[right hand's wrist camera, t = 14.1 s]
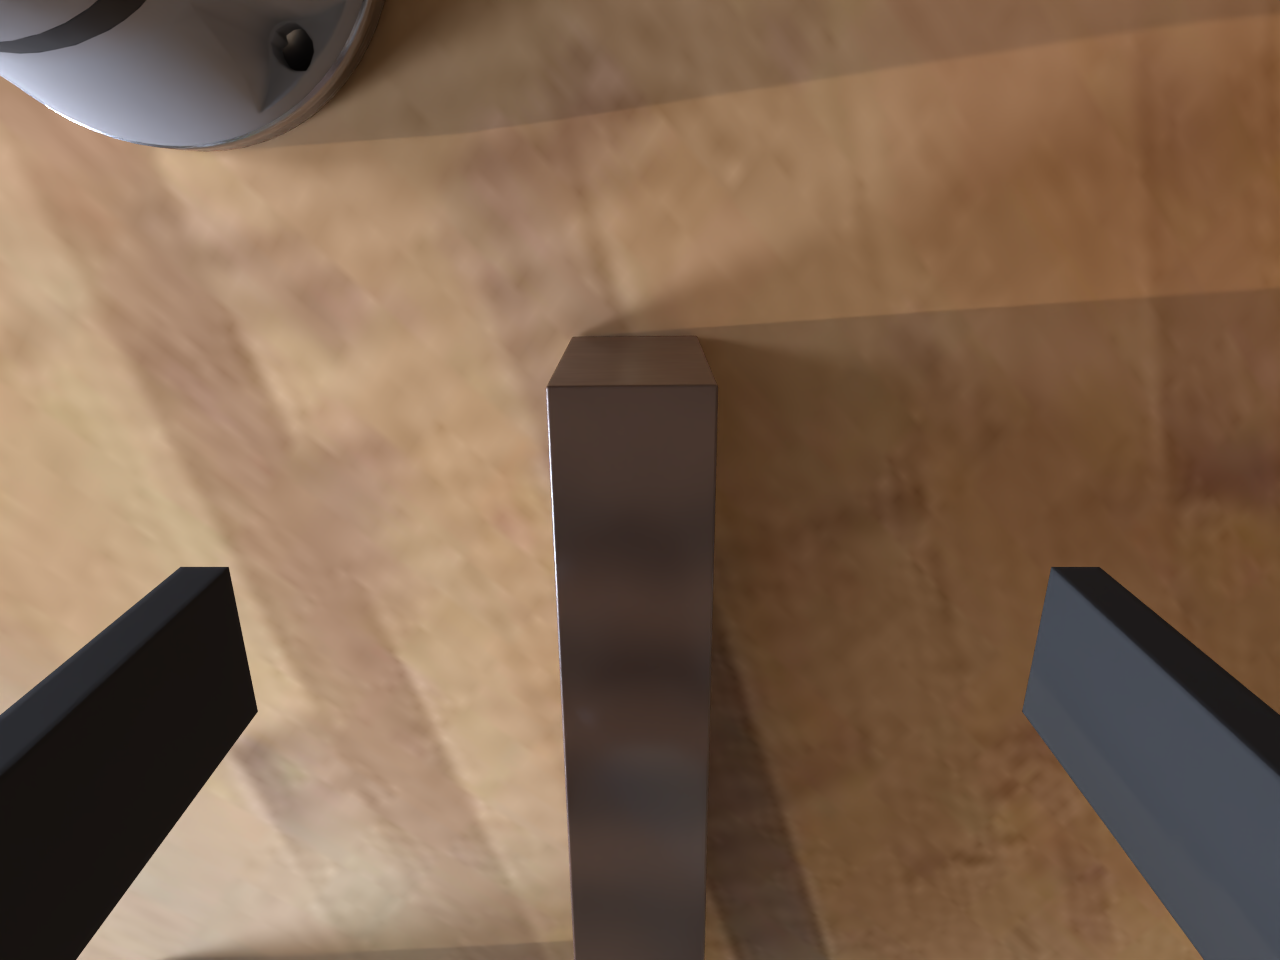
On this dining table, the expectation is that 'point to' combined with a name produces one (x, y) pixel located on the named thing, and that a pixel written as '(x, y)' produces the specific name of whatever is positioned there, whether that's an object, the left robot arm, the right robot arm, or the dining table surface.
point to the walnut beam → (635, 636)
